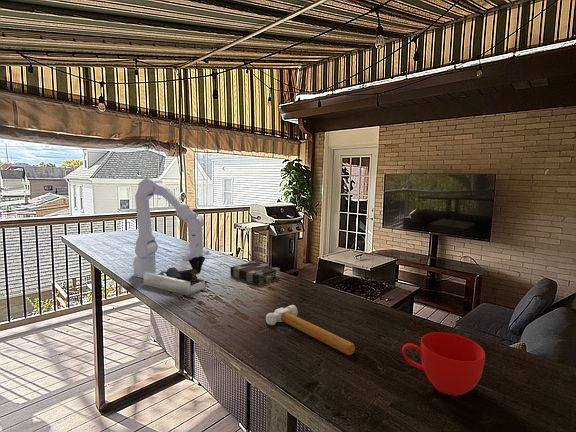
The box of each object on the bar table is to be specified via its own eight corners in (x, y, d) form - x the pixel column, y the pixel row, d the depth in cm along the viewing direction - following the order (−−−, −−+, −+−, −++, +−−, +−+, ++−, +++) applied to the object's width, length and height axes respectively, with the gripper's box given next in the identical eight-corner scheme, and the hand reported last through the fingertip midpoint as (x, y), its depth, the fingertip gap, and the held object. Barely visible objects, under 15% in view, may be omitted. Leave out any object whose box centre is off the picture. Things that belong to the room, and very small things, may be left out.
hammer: (363, 349, 94) (290, 313, 115) (364, 336, 93) (290, 303, 115) (336, 365, 86) (263, 324, 107) (337, 351, 85) (263, 312, 107)
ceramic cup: (399, 363, 86) (402, 326, 84) (473, 376, 81) (477, 337, 79) (401, 395, 73) (404, 352, 72) (488, 412, 68) (493, 366, 67)
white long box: (143, 284, 141) (143, 272, 140) (162, 278, 149) (161, 267, 149) (187, 295, 129) (187, 283, 128) (204, 288, 137) (204, 276, 137)
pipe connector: (192, 264, 153) (200, 273, 140) (192, 275, 154) (200, 285, 141) (165, 267, 148) (171, 277, 135) (166, 279, 148) (172, 290, 135)
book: (253, 270, 165) (253, 260, 164) (291, 282, 149) (291, 270, 148) (229, 276, 154) (229, 266, 154) (267, 290, 138) (267, 278, 137)
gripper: (191, 247, 140) (191, 279, 142) (214, 241, 153) (214, 270, 155) (178, 246, 144) (179, 276, 145) (202, 240, 156) (203, 268, 158)
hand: (196, 273), depth 150 cm, fingers closed
